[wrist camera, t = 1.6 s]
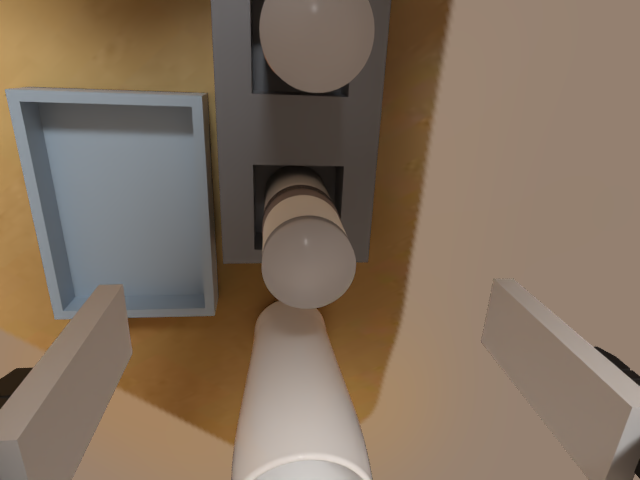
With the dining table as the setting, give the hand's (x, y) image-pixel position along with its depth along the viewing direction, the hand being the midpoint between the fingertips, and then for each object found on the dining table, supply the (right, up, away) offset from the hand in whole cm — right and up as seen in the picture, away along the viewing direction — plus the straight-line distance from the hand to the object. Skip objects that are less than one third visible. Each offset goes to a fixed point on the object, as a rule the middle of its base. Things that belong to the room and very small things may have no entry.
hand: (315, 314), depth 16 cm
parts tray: (-12, +5, +13) cm, 18 cm away
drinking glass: (-2, -4, +18) cm, 19 cm away
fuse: (-1, +14, +10) cm, 17 cm away
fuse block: (-1, +10, +12) cm, 16 cm away
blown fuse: (-1, +6, +13) cm, 14 cm away
